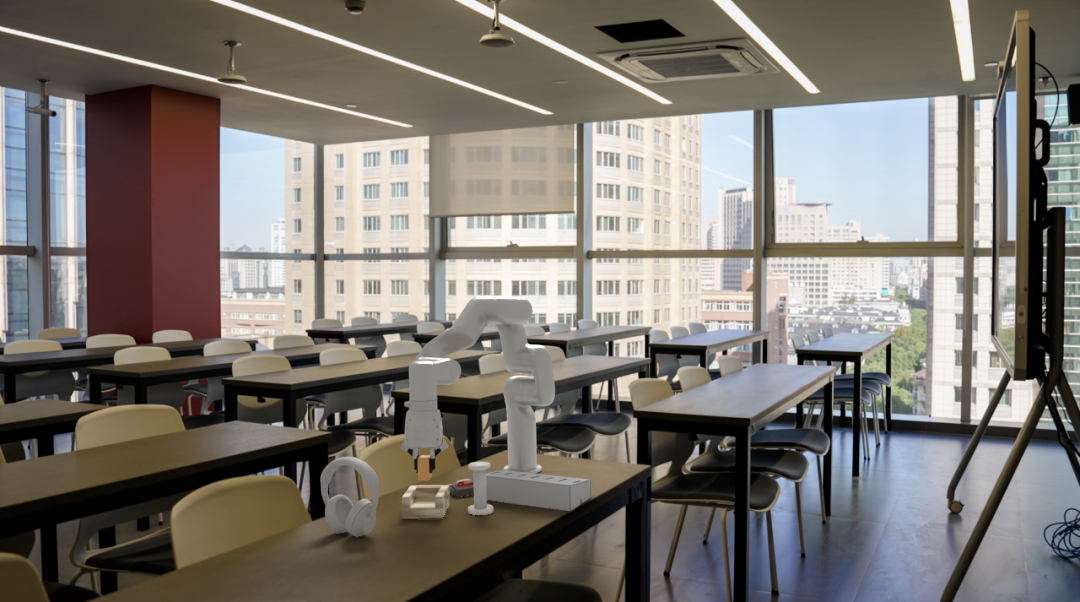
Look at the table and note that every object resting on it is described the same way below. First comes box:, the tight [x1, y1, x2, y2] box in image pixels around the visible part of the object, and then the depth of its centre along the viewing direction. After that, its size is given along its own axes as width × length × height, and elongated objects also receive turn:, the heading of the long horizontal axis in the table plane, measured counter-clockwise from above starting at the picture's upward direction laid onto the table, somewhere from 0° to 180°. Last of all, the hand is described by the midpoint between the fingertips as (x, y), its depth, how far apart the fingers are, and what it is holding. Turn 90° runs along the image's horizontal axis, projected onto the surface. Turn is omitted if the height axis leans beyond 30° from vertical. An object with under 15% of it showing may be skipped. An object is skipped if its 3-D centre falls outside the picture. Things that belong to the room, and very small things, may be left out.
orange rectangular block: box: [417, 454, 433, 482], centre depth 214 cm, size 5×3×6 cm, turn 178°
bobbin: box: [467, 461, 494, 517], centre depth 214 cm, size 7×7×13 cm
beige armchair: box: [401, 484, 451, 519], centre depth 215 cm, size 12×11×6 cm
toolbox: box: [448, 478, 474, 498], centre depth 233 cm, size 9×4×20 cm
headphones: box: [319, 456, 380, 537], centre depth 197 cm, size 18×8×20 cm, turn 60°
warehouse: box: [486, 469, 592, 512], centre depth 226 cm, size 30×14×8 cm, turn 63°
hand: (425, 471), depth 214 cm, fingers closed on orange rectangular block, 2 cm apart
